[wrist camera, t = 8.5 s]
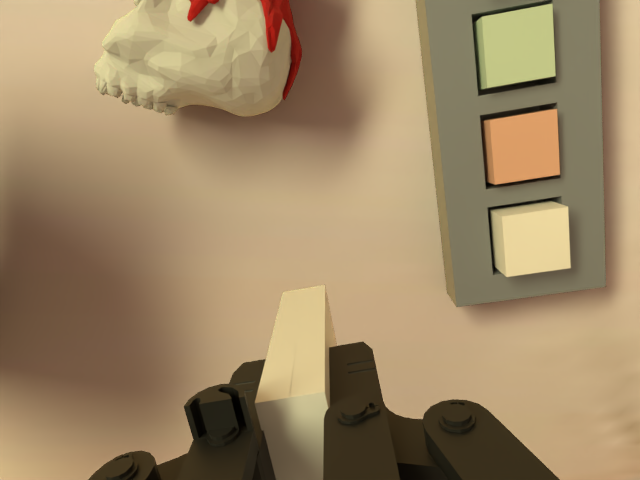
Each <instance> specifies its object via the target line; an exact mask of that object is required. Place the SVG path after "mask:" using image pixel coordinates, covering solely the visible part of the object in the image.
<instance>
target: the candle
mask: <svg viewBox="0 0 640 480" xmlns="http://www.w3.org/2000/svg"><path fill="white" fill-rule="evenodd" d="M133 1H134V4H135V5H136V6H137V7H136V8H134V9H133V10H132V11H131V12H129V13H128V14H127V15H125V16H123V17H121V18H119V19H117V20H116V21H115V23H114V25H113V27H112V29H111V30H110V32H109V33H108V34H107V36H106V37H105V39H104V40H103V42H102V47H103V48H104V49H105V50H104V53H103V56H102V57H101V58H100V59H99V60H98V62H97V63H96V64H95V65H94V72H95V74H96V77H97V79H96V88H97V90H98V91H99V92H100V93H101V94H103V95H104V94H105V93H106V94H108V95H110V96H114V97H117V98H118V97H120V96H121V94H122V92H123V98H122V102H124V103H125V104H127V103H129V102H130V101H131V102H132V104H134V105H135V106H140V105H142V106H143V107H144V108H147V109H150V110H151V109H154V111H156V112H159V113H162V112H165V115H171V114H174V113H175V112H176V111H177V109H178V108H181V107H184V106H187V105H205V106H211V107H215V108H219V109H223V110H225V111H228V112H230V113H232V114H235V115H238V116H242V117H245V116H255V115H259V114H262V113H265V112H268V111H270V110H271V109H273V108H274V107H276V106H277V105H278V104H279V103H280V101H281V99H282V98H283V99H284V100H285V98H286V96H287V94H288V92H289V90H290V88H291V86H292V84H293V82H294V80H295V77H296V75H297V72H298V69H299V65H300V61H301V57H302V49H301V45H300V42H299V39H298V37H297V34H296V30H295V27H294V24H293V17H292V13H291V9H290V4H289V0H133Z"/></svg>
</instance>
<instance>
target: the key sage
mask: <svg viewBox="0 0 640 480" xmlns="http://www.w3.org/2000/svg"><path fill="white" fill-rule="evenodd" d="M472 27H473V39H474V51H475V63H476V76H477V88H478V91H479V90H485V89H491V88H496V87H502V86H508V85H514V84H519V83H525V82H531V81H537V80H541V79H545V78H550V77H554V76H556V73H555V50H554V27H553V5H552V4H547V5H542V6H537V7H531V8H526V9H521V10H515V11H510V12H505V13H499V14H494V15H489V16H483V17H481V18H480V19H478V20H477V21H476V22H475V23H473V24H472Z"/></svg>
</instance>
